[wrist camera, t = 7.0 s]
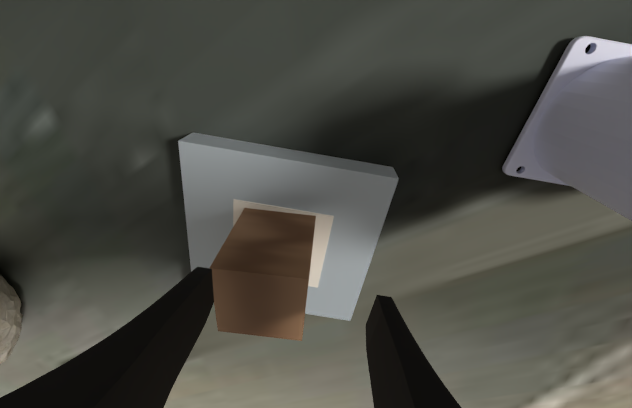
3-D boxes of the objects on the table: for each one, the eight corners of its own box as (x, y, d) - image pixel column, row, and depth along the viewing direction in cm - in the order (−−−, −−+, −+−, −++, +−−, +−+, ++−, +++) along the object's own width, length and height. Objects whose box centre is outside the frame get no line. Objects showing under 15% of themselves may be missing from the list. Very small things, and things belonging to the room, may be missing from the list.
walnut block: (316, 215, 19) (308, 279, 13) (310, 269, 21) (301, 340, 16) (244, 207, 19) (209, 267, 14) (246, 262, 21) (218, 330, 16)
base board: (393, 166, 19) (399, 179, 17) (349, 302, 26) (350, 321, 24) (192, 132, 18) (177, 141, 17) (203, 279, 25) (192, 296, 24)
